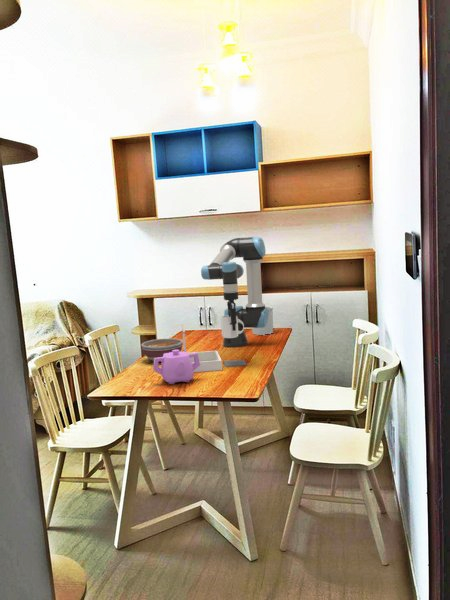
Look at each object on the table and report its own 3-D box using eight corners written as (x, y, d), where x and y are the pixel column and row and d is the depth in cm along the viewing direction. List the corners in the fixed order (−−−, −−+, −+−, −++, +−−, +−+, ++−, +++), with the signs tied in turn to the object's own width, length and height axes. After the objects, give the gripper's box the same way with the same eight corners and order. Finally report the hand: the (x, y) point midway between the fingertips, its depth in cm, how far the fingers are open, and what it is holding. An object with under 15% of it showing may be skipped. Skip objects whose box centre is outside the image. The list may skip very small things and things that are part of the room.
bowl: (135, 364, 310) (133, 346, 309) (154, 354, 331) (153, 338, 330) (173, 365, 302) (171, 347, 301) (190, 355, 323) (189, 338, 322)
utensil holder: (267, 336, 367) (265, 309, 365) (247, 335, 375) (246, 309, 373) (277, 332, 379) (276, 306, 377) (258, 331, 387) (257, 305, 385)
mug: (242, 338, 289) (241, 317, 288) (220, 338, 293) (218, 317, 291) (246, 335, 297) (245, 315, 296) (224, 335, 301) (223, 315, 300)
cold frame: (217, 359, 310) (215, 321, 307) (222, 370, 286) (219, 329, 283) (184, 362, 308) (181, 324, 305) (185, 373, 284) (182, 331, 281)
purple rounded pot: (184, 387, 257) (182, 355, 255) (150, 385, 265) (148, 353, 263) (204, 377, 274) (202, 346, 273) (171, 374, 282) (169, 345, 281)
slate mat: (243, 360, 303) (243, 359, 303) (246, 365, 293) (246, 364, 292) (223, 362, 302) (223, 361, 302) (225, 367, 291) (225, 365, 291)
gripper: (221, 290, 303) (223, 332, 306) (225, 294, 282) (228, 339, 285) (235, 289, 304) (237, 331, 306) (240, 293, 283) (243, 338, 285)
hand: (233, 335), depth 296 cm, fingers closed on mug, 9 cm apart
